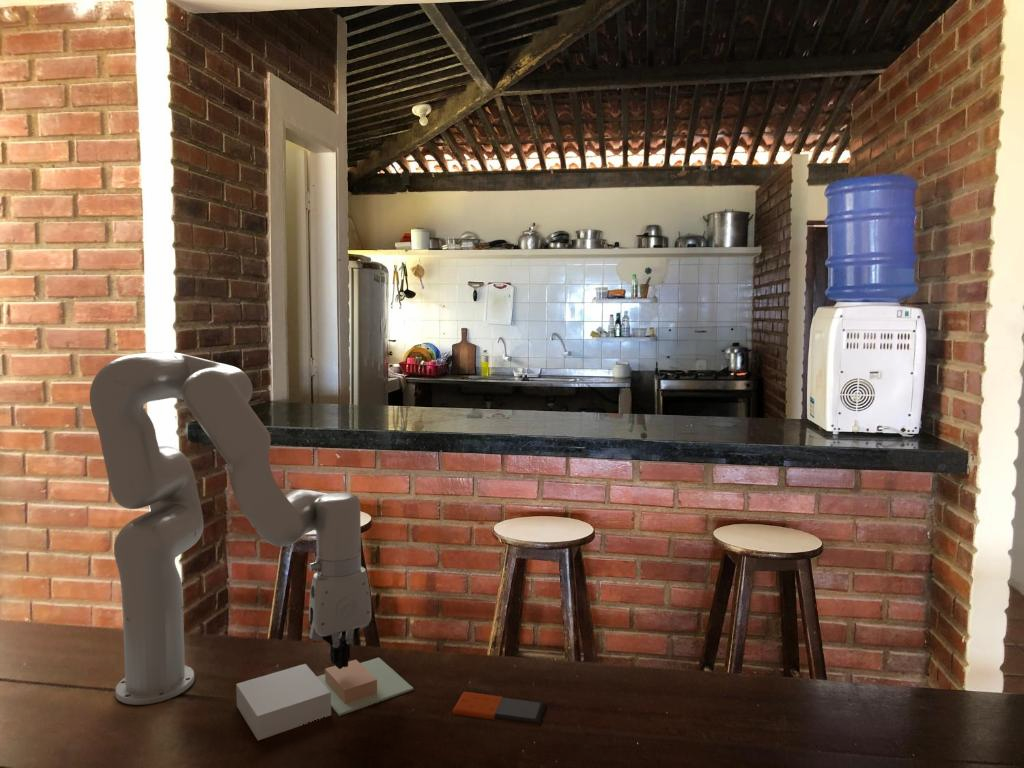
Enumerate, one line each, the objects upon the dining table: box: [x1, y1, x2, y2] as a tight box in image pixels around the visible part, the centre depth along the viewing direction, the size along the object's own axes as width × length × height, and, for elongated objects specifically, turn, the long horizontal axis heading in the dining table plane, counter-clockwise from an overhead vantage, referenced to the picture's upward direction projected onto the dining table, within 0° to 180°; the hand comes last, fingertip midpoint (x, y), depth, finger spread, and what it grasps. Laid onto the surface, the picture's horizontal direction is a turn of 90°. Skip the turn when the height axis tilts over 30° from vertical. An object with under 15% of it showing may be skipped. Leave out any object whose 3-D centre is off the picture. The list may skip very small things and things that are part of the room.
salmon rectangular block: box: [324, 659, 377, 704], centre depth 122 cm, size 9×6×2 cm, turn 37°
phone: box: [452, 691, 546, 727], centre depth 116 cm, size 6×1×15 cm
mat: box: [316, 657, 414, 717], centre depth 123 cm, size 14×14×1 cm
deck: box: [235, 663, 332, 741], centre depth 115 cm, size 12×12×4 cm
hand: (340, 664), depth 121 cm, fingers closed
